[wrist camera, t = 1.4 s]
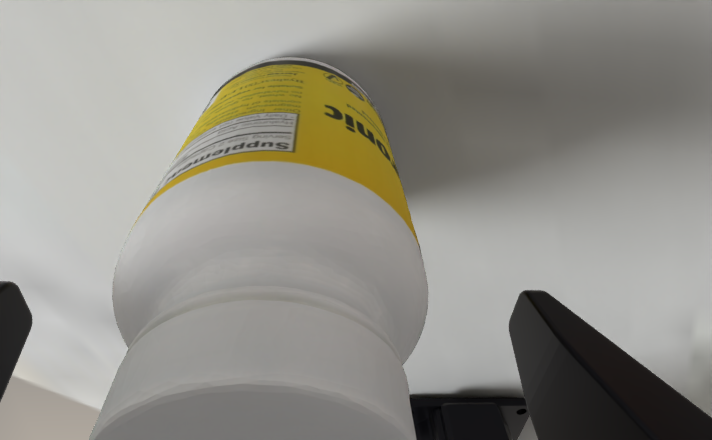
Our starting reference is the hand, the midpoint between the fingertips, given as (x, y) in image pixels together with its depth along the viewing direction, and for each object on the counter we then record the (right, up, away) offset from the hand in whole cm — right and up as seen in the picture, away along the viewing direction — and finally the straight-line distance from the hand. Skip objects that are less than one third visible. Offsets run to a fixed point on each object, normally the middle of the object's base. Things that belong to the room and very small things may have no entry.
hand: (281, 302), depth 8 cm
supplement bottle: (0, +4, +5) cm, 7 cm away
